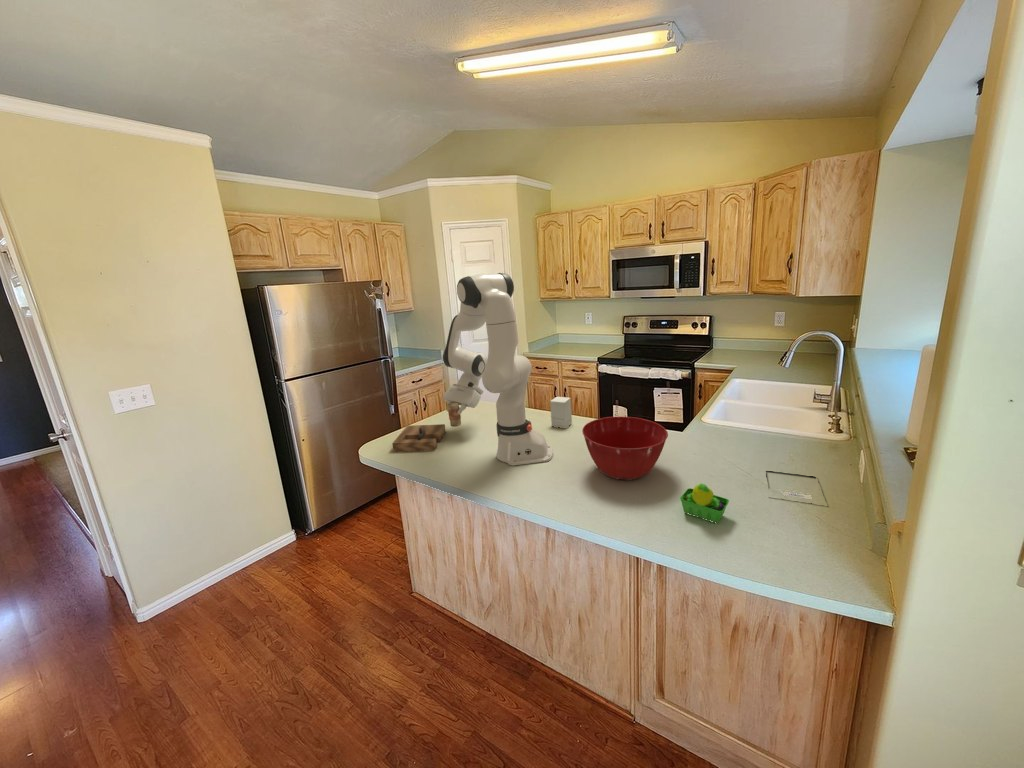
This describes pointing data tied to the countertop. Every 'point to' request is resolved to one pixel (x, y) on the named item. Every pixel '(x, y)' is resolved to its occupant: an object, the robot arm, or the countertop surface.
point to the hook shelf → (419, 444)
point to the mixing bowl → (624, 445)
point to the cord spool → (454, 414)
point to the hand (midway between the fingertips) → (453, 412)
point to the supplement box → (561, 412)
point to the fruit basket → (703, 503)
